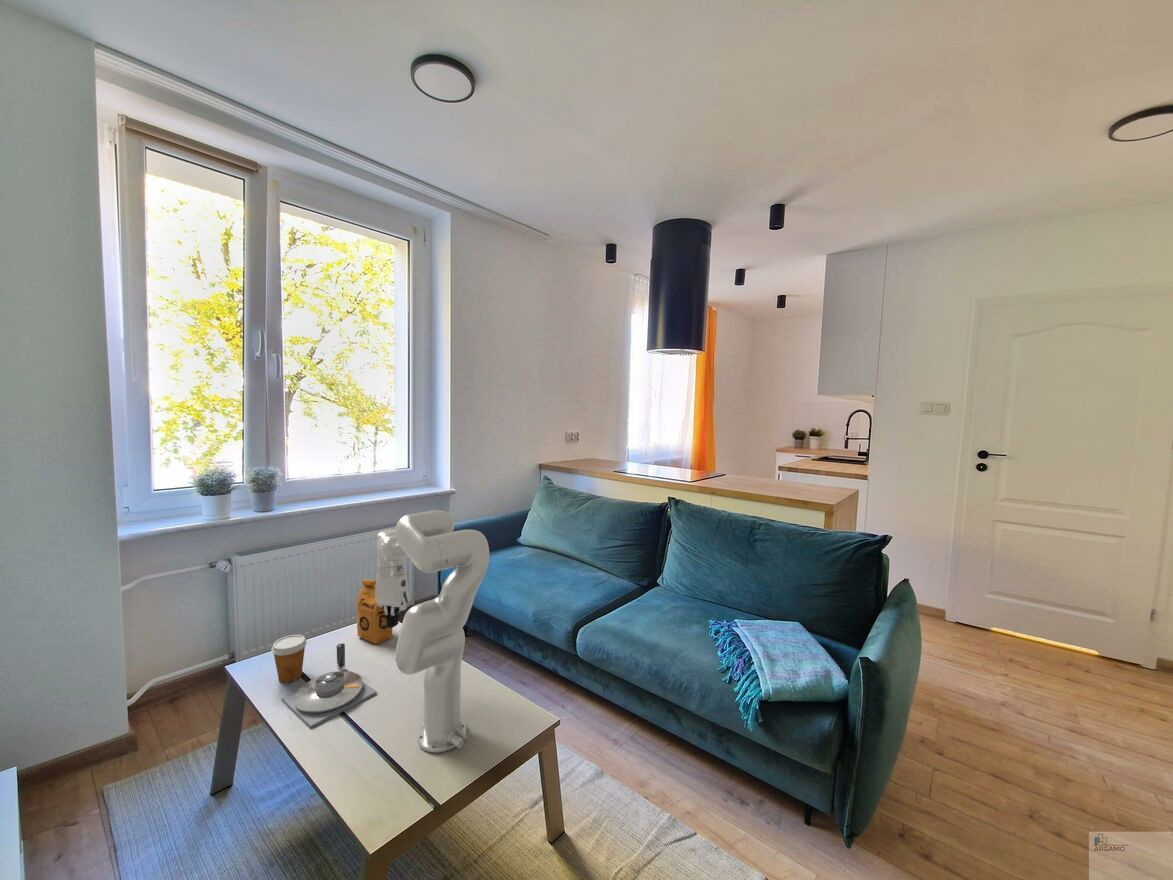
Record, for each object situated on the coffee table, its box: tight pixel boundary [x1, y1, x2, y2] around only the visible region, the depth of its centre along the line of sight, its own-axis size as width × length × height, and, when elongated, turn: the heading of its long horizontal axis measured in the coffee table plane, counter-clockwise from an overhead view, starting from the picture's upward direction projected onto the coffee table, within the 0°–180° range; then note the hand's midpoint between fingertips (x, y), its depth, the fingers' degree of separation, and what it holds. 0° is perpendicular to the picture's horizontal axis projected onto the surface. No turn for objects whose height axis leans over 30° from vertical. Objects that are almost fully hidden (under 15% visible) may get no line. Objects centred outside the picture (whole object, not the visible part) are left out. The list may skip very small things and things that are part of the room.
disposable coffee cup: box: [271, 634, 307, 683], centre depth 148 cm, size 10×10×12 cm
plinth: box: [280, 668, 377, 729], centre depth 140 cm, size 19×19×1 cm
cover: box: [316, 671, 344, 698], centre depth 139 cm, size 8×8×4 cm
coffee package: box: [356, 578, 393, 645], centre depth 173 cm, size 10×12×22 cm
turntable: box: [295, 643, 363, 714], centre depth 142 cm, size 24×18×8 cm
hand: (392, 625), depth 146 cm, fingers closed
